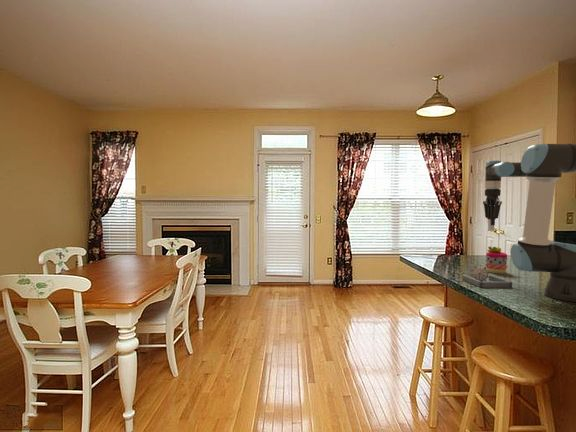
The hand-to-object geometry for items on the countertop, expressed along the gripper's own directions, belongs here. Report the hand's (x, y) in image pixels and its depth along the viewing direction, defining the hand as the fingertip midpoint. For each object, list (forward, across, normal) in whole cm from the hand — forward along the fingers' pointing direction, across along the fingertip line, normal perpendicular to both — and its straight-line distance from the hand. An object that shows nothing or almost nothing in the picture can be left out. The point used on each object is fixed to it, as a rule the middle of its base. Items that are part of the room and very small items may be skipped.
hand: (490, 230), depth 184 cm
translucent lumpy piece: (+25, -17, +16) cm, 34 cm away
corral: (+24, -21, +16) cm, 36 cm away
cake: (+25, +6, -8) cm, 27 cm away
